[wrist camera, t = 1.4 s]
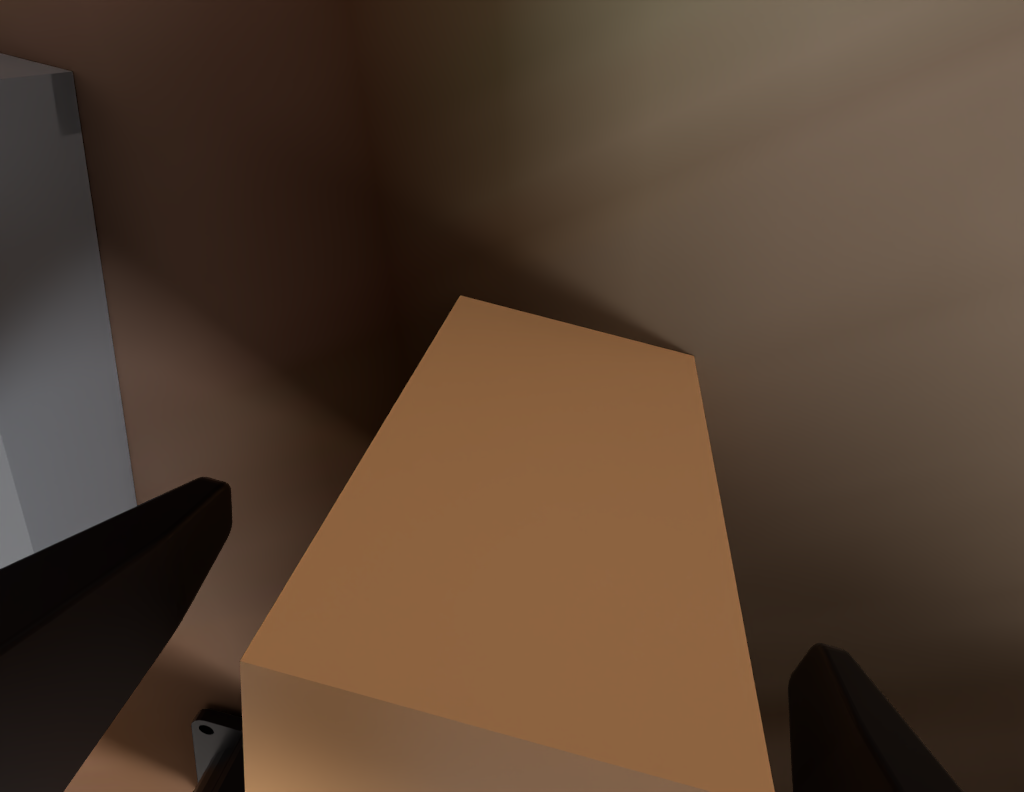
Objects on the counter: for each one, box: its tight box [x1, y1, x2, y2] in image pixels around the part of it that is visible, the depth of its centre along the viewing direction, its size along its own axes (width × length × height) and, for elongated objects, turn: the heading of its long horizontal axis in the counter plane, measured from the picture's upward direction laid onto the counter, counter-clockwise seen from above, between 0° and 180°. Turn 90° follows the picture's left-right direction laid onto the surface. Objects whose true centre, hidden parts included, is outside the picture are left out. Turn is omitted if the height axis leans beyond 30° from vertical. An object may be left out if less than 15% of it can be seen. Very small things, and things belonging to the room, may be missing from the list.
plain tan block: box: [240, 295, 775, 792], centre depth 10 cm, size 4×4×8 cm
